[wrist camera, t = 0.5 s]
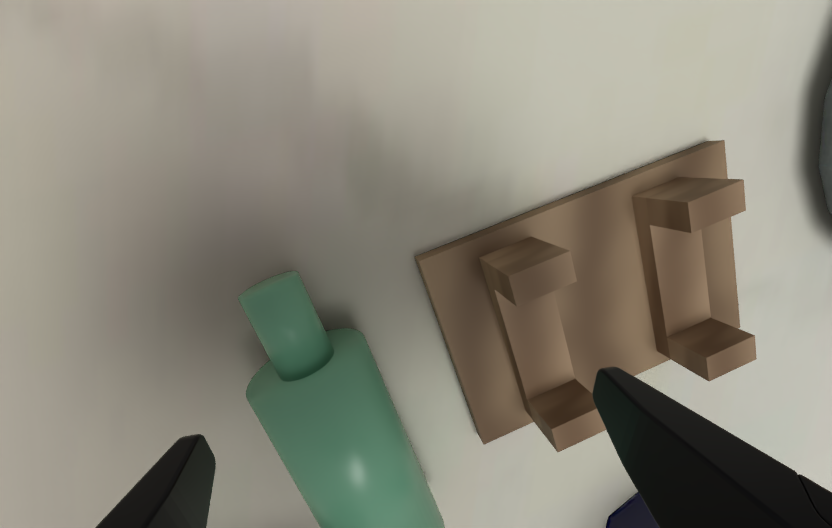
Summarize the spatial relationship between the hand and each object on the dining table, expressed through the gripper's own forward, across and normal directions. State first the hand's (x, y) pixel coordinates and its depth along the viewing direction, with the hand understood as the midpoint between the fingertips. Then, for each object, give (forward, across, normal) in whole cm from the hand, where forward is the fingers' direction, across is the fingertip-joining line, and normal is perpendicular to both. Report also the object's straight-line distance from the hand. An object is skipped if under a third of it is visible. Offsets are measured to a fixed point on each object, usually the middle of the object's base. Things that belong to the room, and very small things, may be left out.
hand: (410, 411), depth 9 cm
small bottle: (+10, +3, +10) cm, 14 cm away
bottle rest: (+12, -12, +6) cm, 18 cm away
